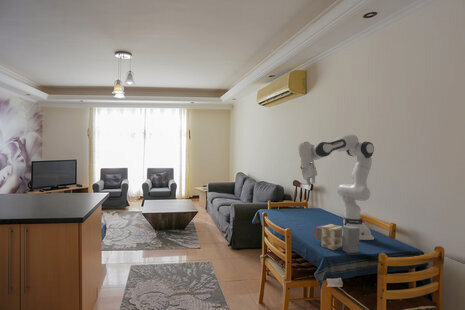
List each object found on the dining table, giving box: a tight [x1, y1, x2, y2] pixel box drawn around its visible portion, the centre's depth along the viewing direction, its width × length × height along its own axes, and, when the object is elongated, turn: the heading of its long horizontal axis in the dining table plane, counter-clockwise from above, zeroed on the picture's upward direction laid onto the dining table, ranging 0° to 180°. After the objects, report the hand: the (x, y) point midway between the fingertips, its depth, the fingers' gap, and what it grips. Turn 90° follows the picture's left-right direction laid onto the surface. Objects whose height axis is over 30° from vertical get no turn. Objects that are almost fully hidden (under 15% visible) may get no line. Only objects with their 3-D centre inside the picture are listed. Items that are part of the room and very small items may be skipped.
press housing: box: [320, 223, 343, 251], centre depth 203 cm, size 9×11×14 cm
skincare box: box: [341, 225, 360, 254], centre depth 195 cm, size 8×7×16 cm
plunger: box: [315, 225, 324, 241], centre depth 208 cm, size 6×8×8 cm
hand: (311, 184), depth 209 cm, fingers open, 8 cm apart
